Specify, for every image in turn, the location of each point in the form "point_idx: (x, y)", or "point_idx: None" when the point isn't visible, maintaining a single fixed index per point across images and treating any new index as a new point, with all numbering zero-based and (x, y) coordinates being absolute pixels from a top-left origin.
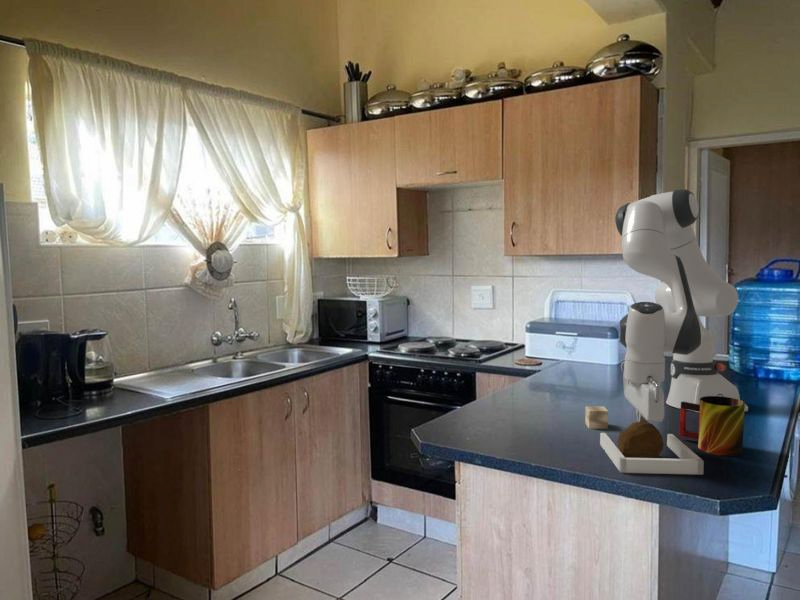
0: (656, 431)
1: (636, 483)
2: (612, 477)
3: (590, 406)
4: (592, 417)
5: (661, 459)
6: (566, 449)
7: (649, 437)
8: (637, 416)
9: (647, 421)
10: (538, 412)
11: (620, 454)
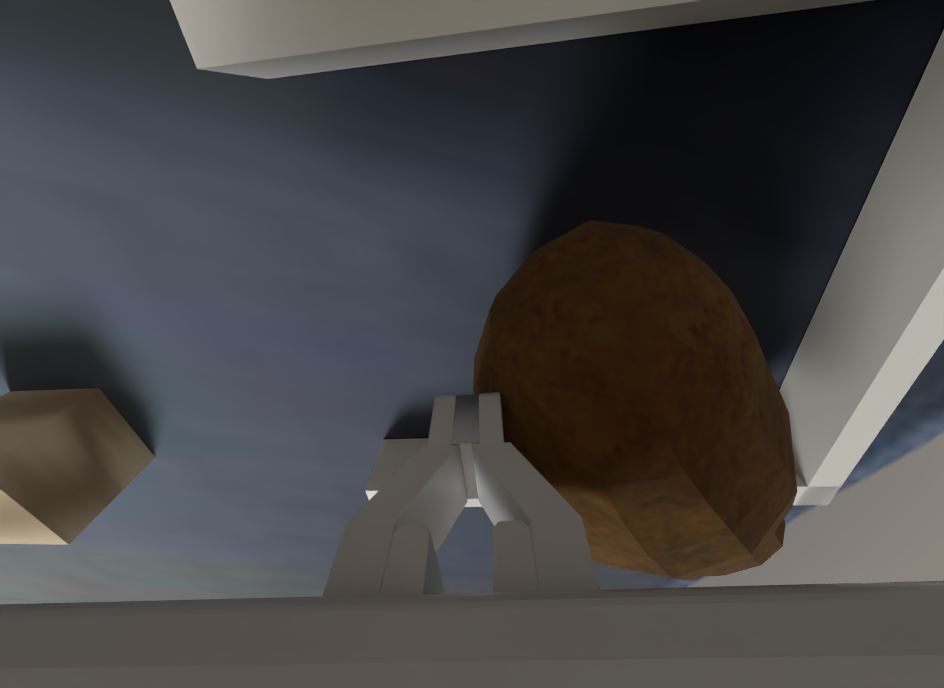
0: (741, 376)
1: (939, 417)
2: None
3: None
4: (93, 497)
5: (942, 316)
6: (481, 547)
7: (788, 425)
8: (438, 539)
9: (517, 450)
10: (53, 560)
11: None
